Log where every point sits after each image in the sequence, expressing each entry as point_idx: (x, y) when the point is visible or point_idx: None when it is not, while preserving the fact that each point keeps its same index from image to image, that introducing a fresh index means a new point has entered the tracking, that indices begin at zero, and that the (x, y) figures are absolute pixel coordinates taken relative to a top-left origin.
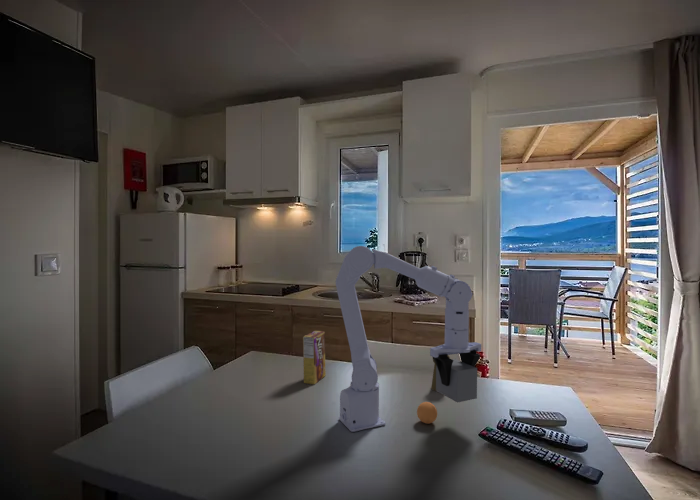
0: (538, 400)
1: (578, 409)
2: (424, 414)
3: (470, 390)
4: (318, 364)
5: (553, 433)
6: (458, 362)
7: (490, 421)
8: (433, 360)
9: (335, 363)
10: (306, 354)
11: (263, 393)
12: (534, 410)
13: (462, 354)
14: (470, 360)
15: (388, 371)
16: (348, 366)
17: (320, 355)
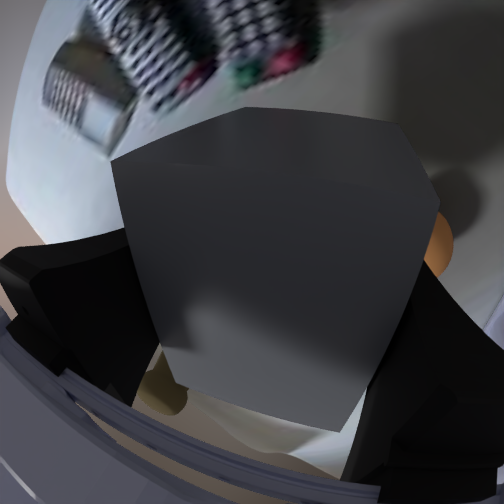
0: (46, 165)
1: (18, 103)
2: (450, 232)
3: (277, 117)
4: None
5: (107, 6)
6: (191, 348)
7: (204, 114)
8: (186, 402)
9: (320, 464)
10: None
11: None
12: (70, 126)
13: (120, 381)
14: (99, 286)
15: (257, 420)
16: (310, 454)
17: None
